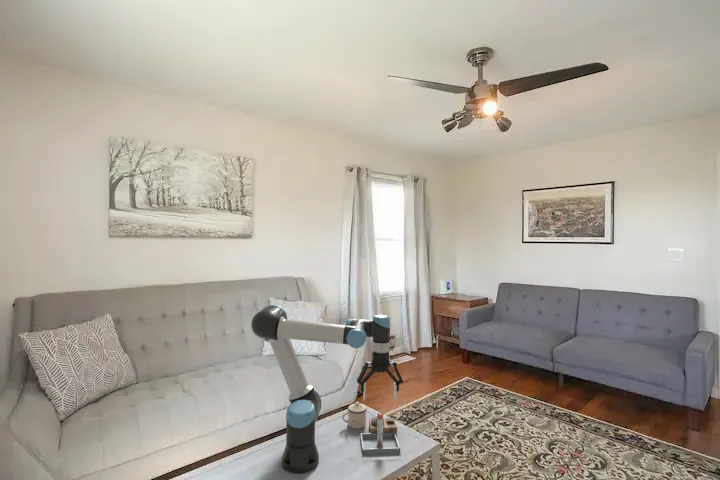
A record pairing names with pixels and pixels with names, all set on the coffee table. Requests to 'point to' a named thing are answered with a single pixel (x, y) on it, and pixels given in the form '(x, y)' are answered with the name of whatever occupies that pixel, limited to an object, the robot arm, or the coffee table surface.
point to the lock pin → (379, 430)
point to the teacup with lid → (356, 415)
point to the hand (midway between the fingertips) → (379, 398)
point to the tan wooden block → (388, 425)
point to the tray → (379, 450)
